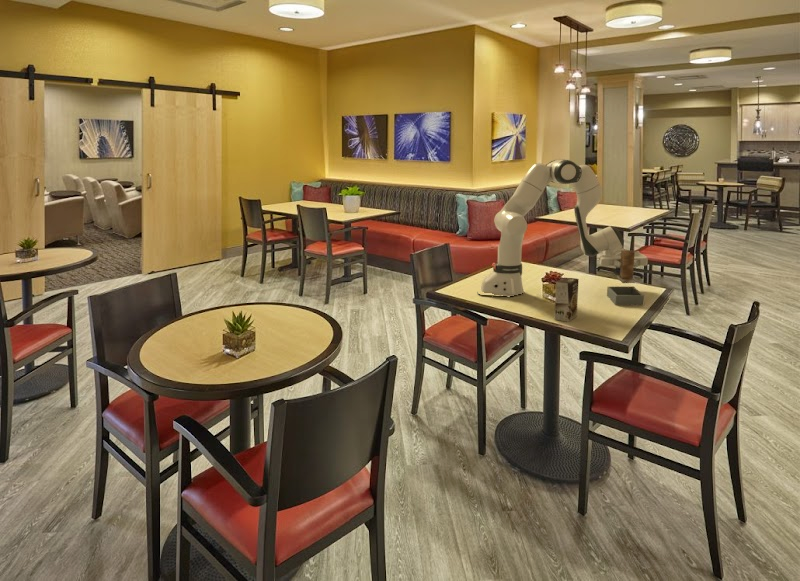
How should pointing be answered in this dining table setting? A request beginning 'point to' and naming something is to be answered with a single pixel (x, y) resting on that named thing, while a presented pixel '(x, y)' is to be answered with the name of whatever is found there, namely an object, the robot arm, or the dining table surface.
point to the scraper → (627, 267)
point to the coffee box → (566, 299)
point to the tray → (625, 295)
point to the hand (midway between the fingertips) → (627, 264)
